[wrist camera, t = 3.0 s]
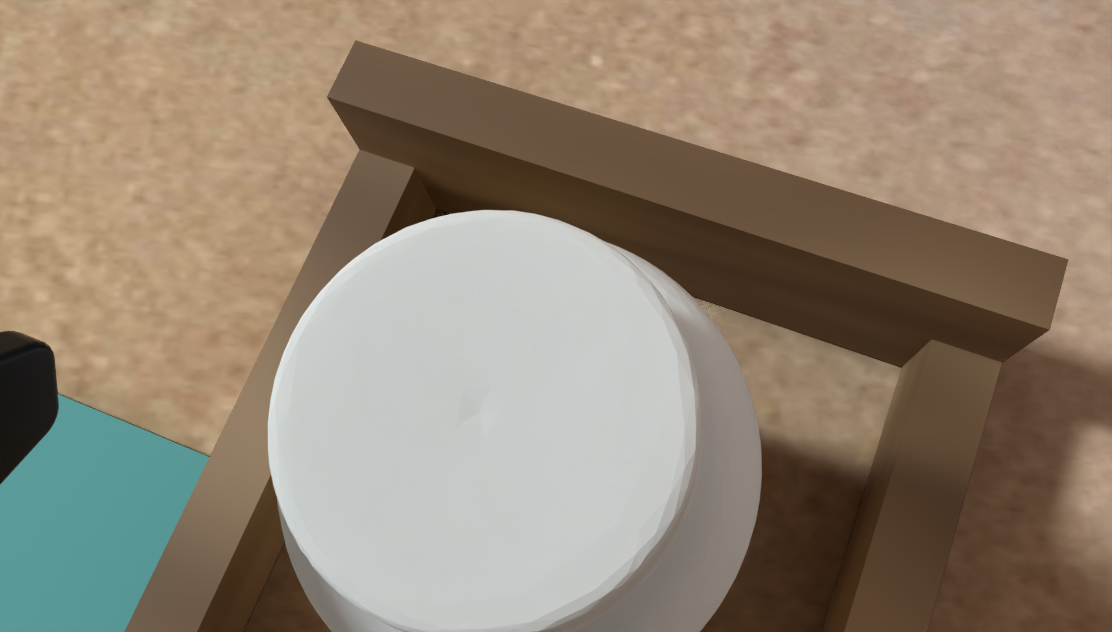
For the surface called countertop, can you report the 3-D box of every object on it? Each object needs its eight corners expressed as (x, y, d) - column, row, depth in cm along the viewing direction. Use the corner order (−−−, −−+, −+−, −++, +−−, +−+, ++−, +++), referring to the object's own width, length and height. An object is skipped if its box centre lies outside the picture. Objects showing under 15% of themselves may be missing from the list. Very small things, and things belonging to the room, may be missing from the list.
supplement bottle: (775, 563, 17) (940, 504, 8) (523, 736, 17) (359, 907, 7) (608, 323, 19) (571, 29, 9) (374, 475, 19) (77, 330, 9)
